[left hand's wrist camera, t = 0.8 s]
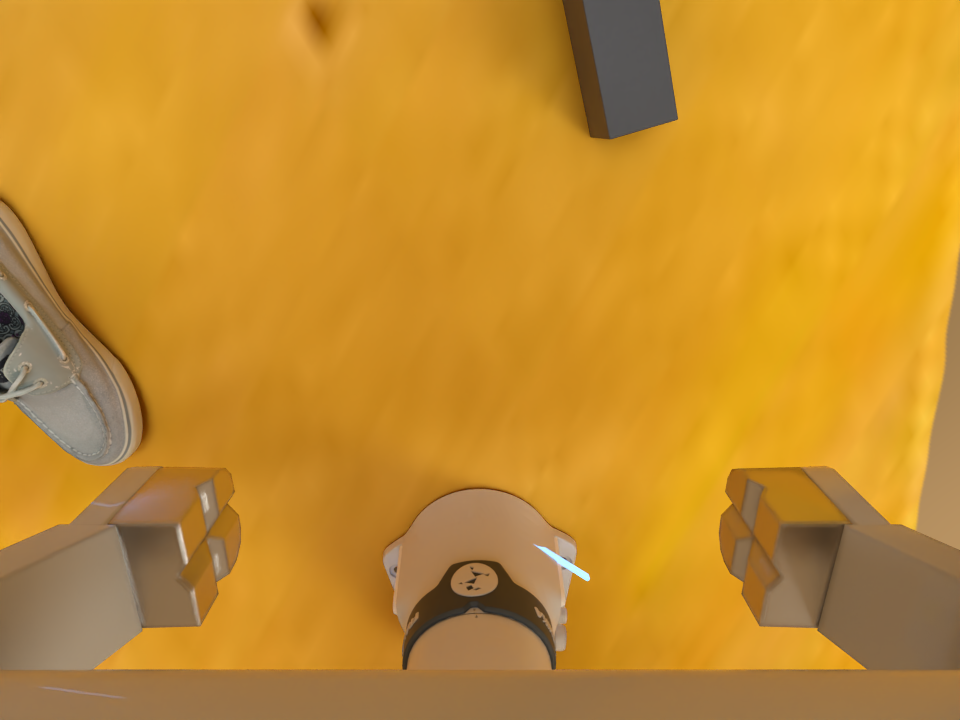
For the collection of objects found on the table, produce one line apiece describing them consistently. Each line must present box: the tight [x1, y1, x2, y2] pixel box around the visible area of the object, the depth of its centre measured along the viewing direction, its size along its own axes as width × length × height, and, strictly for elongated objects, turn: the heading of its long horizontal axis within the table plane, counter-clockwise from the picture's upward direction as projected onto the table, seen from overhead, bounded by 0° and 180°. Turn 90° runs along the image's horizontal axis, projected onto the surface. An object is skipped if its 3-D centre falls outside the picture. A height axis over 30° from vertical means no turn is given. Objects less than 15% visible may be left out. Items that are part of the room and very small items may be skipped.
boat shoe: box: [0, 200, 143, 466], centre depth 48 cm, size 9×25×9 cm, turn 27°
